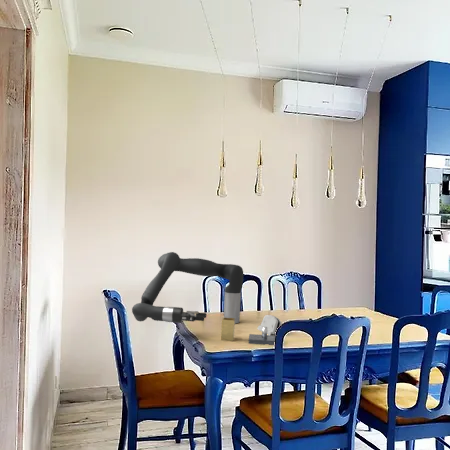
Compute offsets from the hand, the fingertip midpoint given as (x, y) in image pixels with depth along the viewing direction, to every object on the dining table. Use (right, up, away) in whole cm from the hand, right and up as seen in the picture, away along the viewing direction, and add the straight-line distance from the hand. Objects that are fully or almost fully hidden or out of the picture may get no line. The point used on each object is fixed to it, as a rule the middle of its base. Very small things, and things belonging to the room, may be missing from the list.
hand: (205, 317), depth 233 cm
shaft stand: (+29, -11, -2) cm, 31 cm away
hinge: (+34, -12, +19) cm, 41 cm away
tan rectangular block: (+11, -11, -1) cm, 15 cm away
